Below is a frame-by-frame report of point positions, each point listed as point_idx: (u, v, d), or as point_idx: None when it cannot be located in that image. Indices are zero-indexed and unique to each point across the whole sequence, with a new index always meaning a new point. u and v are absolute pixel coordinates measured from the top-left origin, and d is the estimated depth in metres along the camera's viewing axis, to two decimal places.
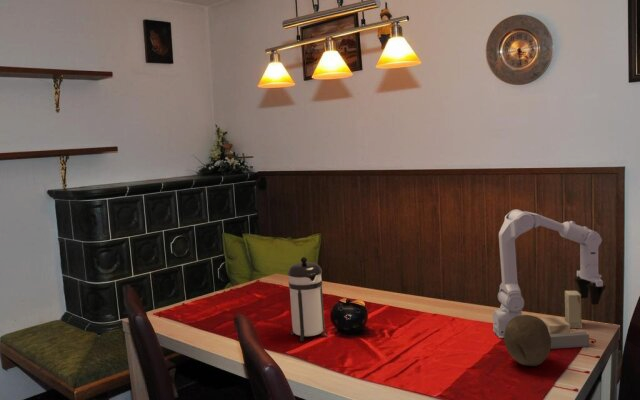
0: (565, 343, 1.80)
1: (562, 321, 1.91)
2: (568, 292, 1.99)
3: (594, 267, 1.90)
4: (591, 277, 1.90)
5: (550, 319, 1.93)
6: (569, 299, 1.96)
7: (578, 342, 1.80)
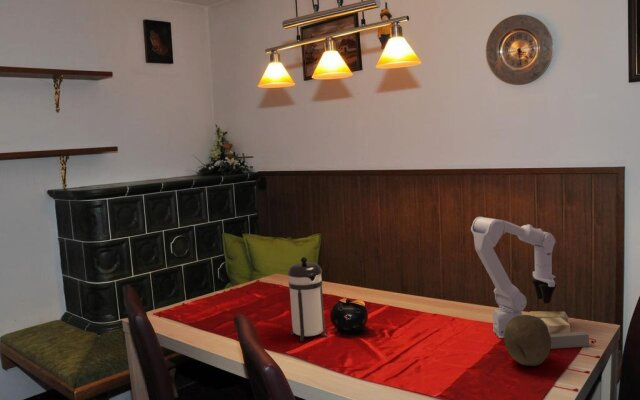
0: (565, 343, 1.80)
1: (562, 321, 1.91)
2: None
3: (547, 268, 1.95)
4: (544, 278, 1.96)
5: (550, 319, 1.93)
6: None
7: (578, 342, 1.80)
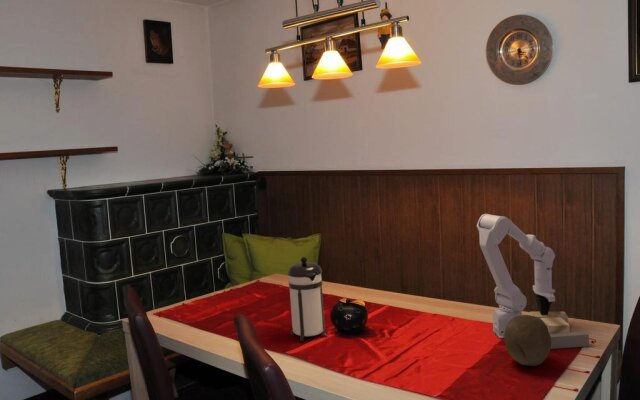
0: (565, 343, 1.80)
1: (562, 321, 1.91)
2: None
3: (547, 282, 1.96)
4: (544, 292, 1.96)
5: (550, 319, 1.93)
6: None
7: (578, 342, 1.80)
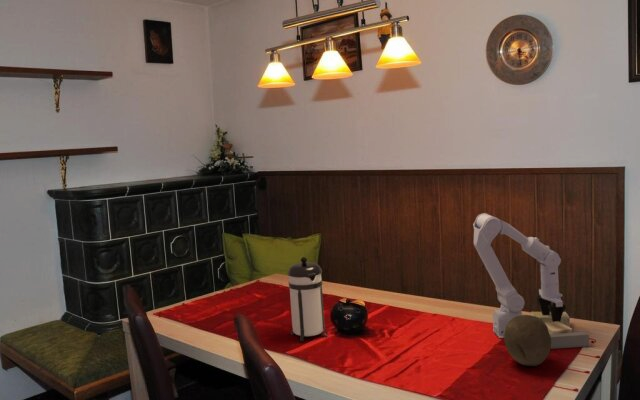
0: (565, 343, 1.80)
1: (563, 325, 1.86)
2: None
3: (554, 287, 1.91)
4: (552, 297, 1.91)
5: (550, 324, 1.88)
6: None
7: (578, 342, 1.80)
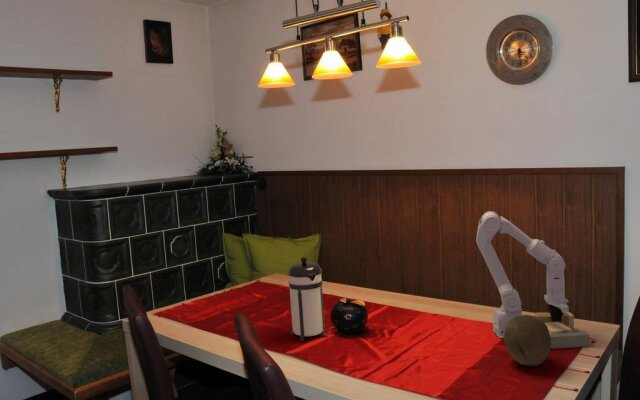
0: (565, 343, 1.80)
1: (562, 326, 1.86)
2: None
3: (560, 292, 1.87)
4: (557, 302, 1.87)
5: (549, 324, 1.88)
6: None
7: (578, 342, 1.80)
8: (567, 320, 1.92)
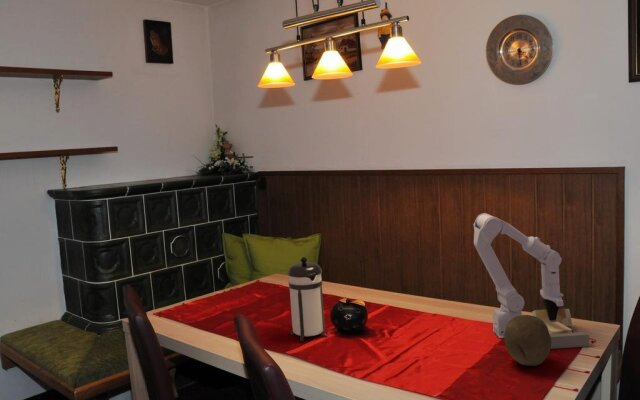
0: (565, 343, 1.80)
1: (562, 326, 1.86)
2: None
3: (555, 286, 1.91)
4: (552, 296, 1.91)
5: (549, 324, 1.88)
6: None
7: (578, 342, 1.80)
8: (563, 313, 1.96)
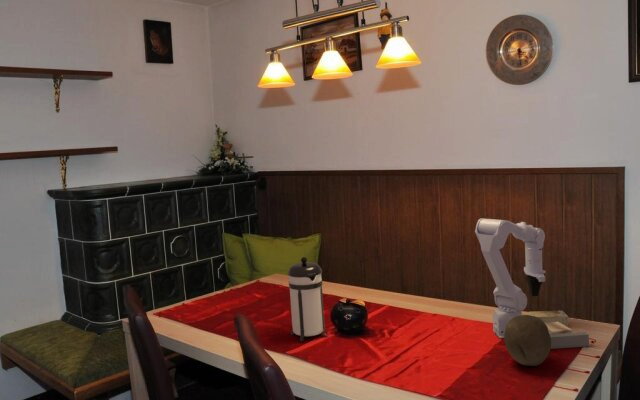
0: (565, 343, 1.80)
1: (562, 326, 1.86)
2: None
3: (538, 263, 1.99)
4: (535, 273, 1.99)
5: (549, 324, 1.88)
6: None
7: (578, 342, 1.80)
8: (557, 311, 2.02)
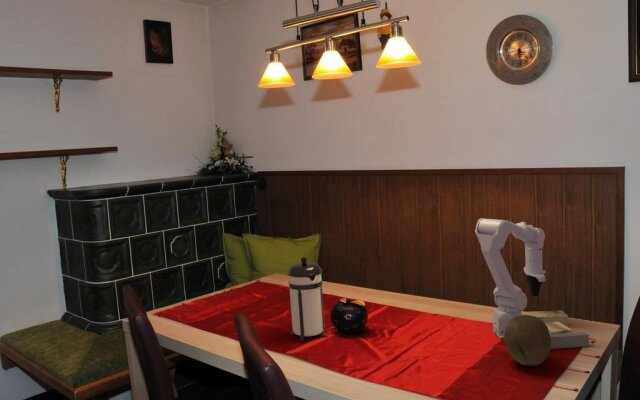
0: (565, 343, 1.80)
1: (562, 326, 1.86)
2: None
3: (538, 263, 1.99)
4: (535, 273, 1.99)
5: (549, 324, 1.88)
6: None
7: (578, 342, 1.80)
8: (557, 311, 2.02)
